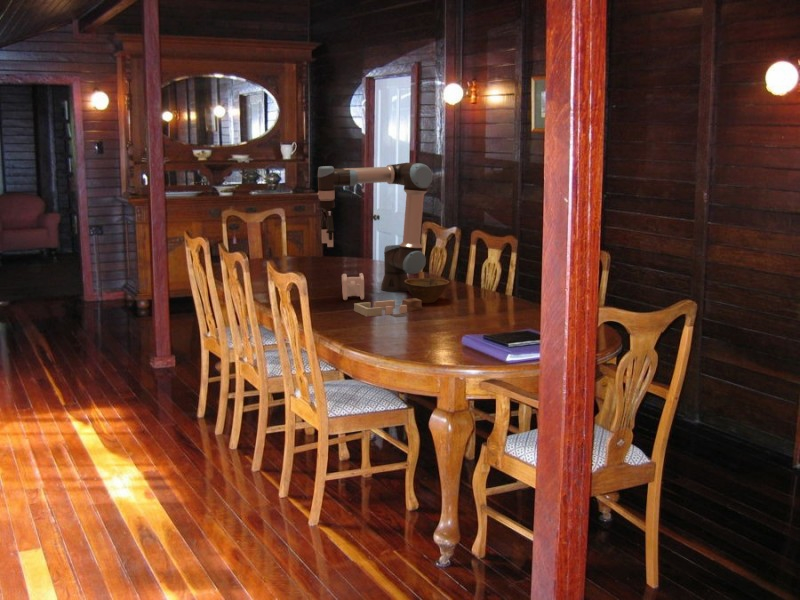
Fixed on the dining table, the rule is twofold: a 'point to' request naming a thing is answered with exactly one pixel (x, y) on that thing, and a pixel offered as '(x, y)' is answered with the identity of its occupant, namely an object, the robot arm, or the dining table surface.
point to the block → (412, 304)
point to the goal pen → (367, 309)
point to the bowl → (426, 288)
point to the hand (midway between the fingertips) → (327, 245)
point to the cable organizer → (353, 286)
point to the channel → (390, 306)
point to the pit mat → (400, 315)
